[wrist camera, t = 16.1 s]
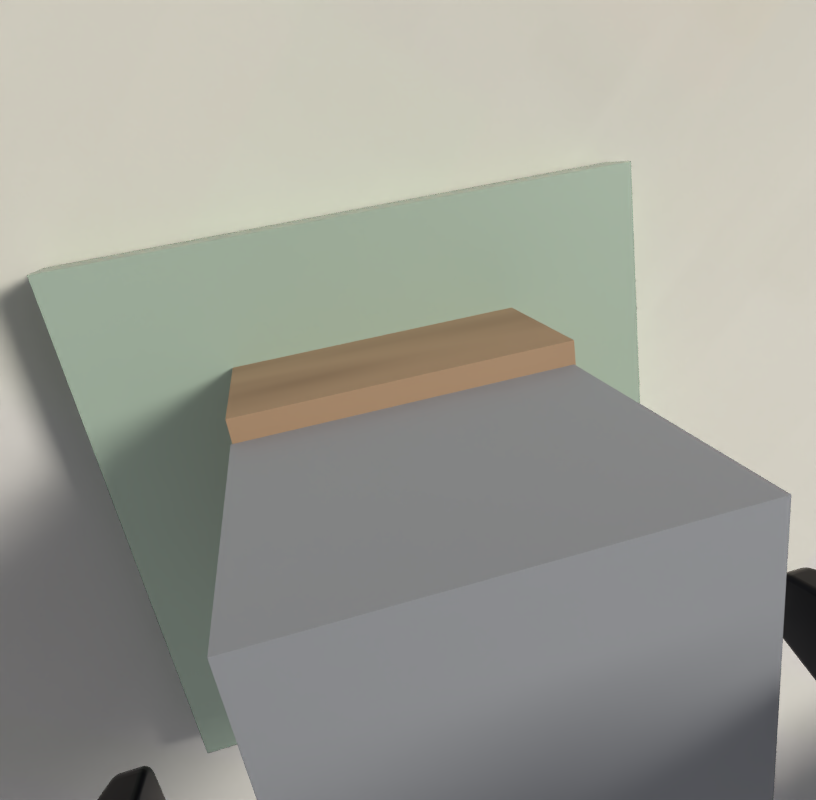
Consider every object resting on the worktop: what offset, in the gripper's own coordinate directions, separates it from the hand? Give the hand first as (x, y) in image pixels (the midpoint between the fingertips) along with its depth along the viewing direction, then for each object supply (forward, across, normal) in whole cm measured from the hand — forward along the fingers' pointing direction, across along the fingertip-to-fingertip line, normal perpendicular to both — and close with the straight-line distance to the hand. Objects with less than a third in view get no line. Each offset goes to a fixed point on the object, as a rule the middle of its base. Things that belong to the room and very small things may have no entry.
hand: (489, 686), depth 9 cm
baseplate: (+7, 0, 0) cm, 7 cm away
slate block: (+3, 0, 0) cm, 3 cm away
